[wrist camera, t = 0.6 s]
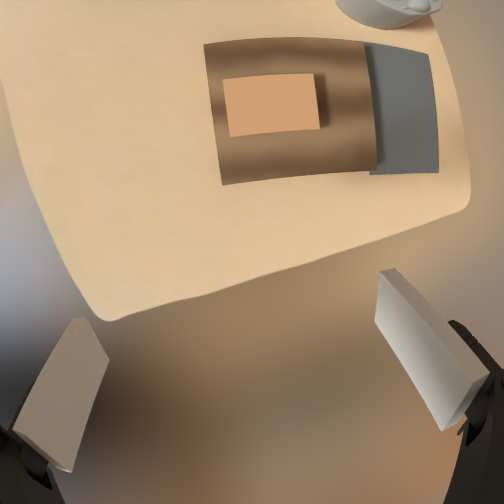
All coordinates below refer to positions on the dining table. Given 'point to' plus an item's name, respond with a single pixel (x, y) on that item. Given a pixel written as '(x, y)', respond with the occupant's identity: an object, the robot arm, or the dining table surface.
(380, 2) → the lumpy-topped squat cylinder
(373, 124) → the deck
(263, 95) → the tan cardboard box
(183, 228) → the dining table surface
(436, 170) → the mat
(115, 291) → the dining table surface
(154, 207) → the dining table surface
